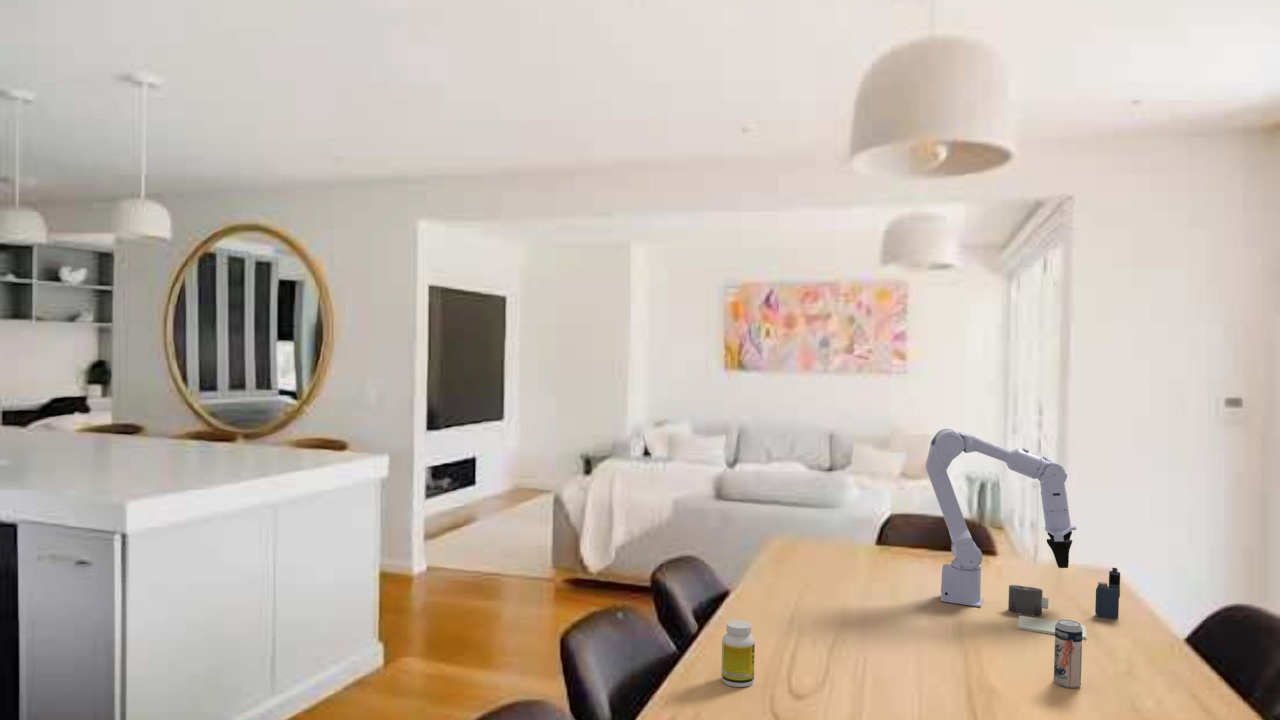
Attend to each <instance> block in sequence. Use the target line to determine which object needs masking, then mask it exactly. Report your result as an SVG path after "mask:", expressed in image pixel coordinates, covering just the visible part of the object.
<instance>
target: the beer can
mask: <svg viewBox="0 0 1280 720" xmlns="http://www.w3.org/2000/svg"><path fill="white" fill-rule="evenodd" d="M1057 621H1058V622H1057V623H1056V625H1055V635H1054V660H1053V661H1054V663H1053V682H1055V683H1056V684H1057V683H1058V684H1059V686H1061V687H1063V688H1066V689H1076V688H1079V687H1081V686H1082V658H1083V656H1082V654H1083V653H1082V652H1083V639H1082V631H1083V629H1082V627H1081V625H1082V624H1081V623H1080V622H1078V621H1075V620H1071V619H1064V618H1063V619H1062V618H1061V619H1058V620H1057ZM1058 684H1057V685H1058Z"/></svg>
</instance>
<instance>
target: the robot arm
mask: <svg viewBox="0 0 1280 720" xmlns="http://www.w3.org/2000/svg"><path fill="white" fill-rule="evenodd" d="M1029 451H1030V450H1029V449H1027V448H1024V447H1023V448H1022V449H1020V448H1016V449H1013V450H1009V449H1007V448H1004V447H1001V446H999V445H997V444H994V443H992V442H990V441H987V440H984V439H982V438H980V437H977V436H975V435H973V434H968V433H966V432H961V431H957V432H956V431H954V430H953V429H951V428H942V429H940V430H938V432H936V433H935V435H934V437H933V438H932V439H931V441H930V446H929V450H928V454H927V459H926V462H925V469H926V471H927V472H926V473H927V475H928V478H929V480H930V483H931V486H932V488H933V491H934V494H935V496H936V499H937V502H938V505H939V508H940V511H941V514H942V515H943V519H944V522H945V524H946V528H947V529H948V533H949V536H950V539H951V545H950V549H951V553H952V556H953V557H954V558H953V559H952V561H951V562H950V563H949V564H948V563H944V564H943V565H942V568H941V569H942V570H941V583H940V584H941V587H940V601H941V602H944V603H949V604H957V605H958V604H959V605H965V606H970V607H971V606H972V607H978V608H981V606H982V603H983V600H984V597H983V596H981V592H982V591H981V590H982V589H981V588H982V585H981V584H982V565H981V564H982V562H983V559H984V558H983V553H982V550H981V549H980V548H979V547H978V545H977V544H976V542H975V541H974V540H973V537H972V534H971V533H970V531H969V528H968V525H967V523H966V520H965V518H964V515H963V512H962V510H961V507H960V504H959V501H958V498H957V496H956V493H955V489H954V488H953V485H952V482H951V479H950V477H949V474H948V471H947V470H948V468H949V466H950V465H951V464H952V462H953V460H954V459H956V458H957V457H958V456H959V455H960V454H961V453H962V452H963V453H965V454H968V453H974V452H975V453H976V452H977V453H978V454H979V453H980V454H982V455H985V456H986V457H987V456H988V457H990V458H994V459H996V460H999V461H1002V462H1004V463H1006V466H1007V468H1008V469H1009V470H1010V471H1013V472H1015V473H1017V474H1021V475H1023V476H1026V477H1028V478H1030V479H1032V480H1036V479H1037V480H1038V481H1039V485H1040V496H1041V503H1042V511H1043V518H1044V526H1045V527H1044V531H1045V533H1047V535H1048V537H1049V538H1047V539H1046V543H1047V545H1048V546H1049V548H1050V549H1051V551H1052V553H1053V556H1054V558H1055V562H1056V565H1057V567H1058V568H1059V569H1068V568H1069V563H1070V562H1069V561H1070V560H1069V559H1070V550H1071V547H1072V544H1073V539H1071V536H1072V534H1073V531H1076V530H1077V526H1076V525H1071V517H1070V511H1069V510H1070V509H1069V502H1068V497H1067V496H1068V495H1067V490H1066V485H1065V482H1066V481H1067V479H1068V474H1067V473H1066V470H1065V469H1064V467H1063V466H1062V465H1060V464H1058V463H1056V462H1054V461H1052V460H1051V459H1049V458H1048V457H1046V456H1042V457H1041V456H1039V455H1035V454H1033V453H1030V452H1029Z"/></svg>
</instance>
